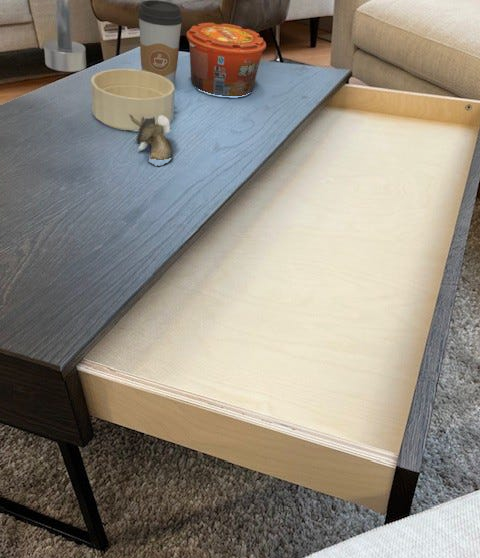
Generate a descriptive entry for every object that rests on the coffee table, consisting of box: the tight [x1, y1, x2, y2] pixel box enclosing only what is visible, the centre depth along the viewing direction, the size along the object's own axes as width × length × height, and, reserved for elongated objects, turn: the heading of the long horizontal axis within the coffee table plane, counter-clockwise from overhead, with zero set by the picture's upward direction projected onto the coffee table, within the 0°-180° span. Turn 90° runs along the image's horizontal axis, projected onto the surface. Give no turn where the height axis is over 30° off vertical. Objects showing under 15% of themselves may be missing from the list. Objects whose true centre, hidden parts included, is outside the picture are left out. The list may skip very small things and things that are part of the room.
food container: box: [186, 22, 267, 96], centre depth 126 cm, size 16×16×11 cm
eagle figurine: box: [129, 115, 174, 160], centre depth 100 cm, size 8×7×9 cm
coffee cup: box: [137, 0, 183, 85], centre depth 120 cm, size 8×8×15 cm
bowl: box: [90, 68, 176, 131], centre depth 110 cm, size 14×14×6 cm
